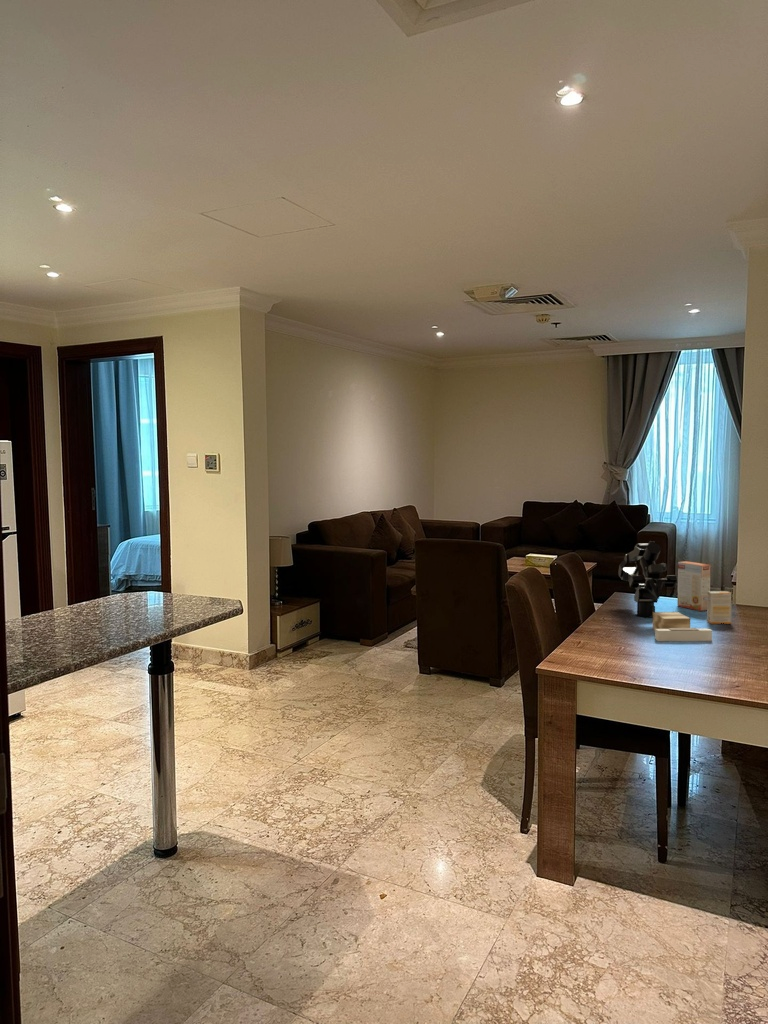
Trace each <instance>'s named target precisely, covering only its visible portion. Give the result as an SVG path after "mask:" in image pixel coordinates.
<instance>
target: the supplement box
mask: <svg viewBox="0 0 768 1024" xmlns="http://www.w3.org/2000/svg"><path fill="white" fill-rule="evenodd" d="M706 613H707V614H706V622H707V621H708V622H707V623H709V624H710V623H711V624H710V625H722V624H723V623H724V624H723V625H726V624H727V625H729V624H730V625H732V592H730V591H729V590H710V591H707V611H706ZM721 623H722V624H721Z"/></svg>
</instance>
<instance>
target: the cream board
mask: <svg viewBox="0 0 768 1024" xmlns="http://www.w3.org/2000/svg"><path fill="white" fill-rule="evenodd" d="M654 634H655V635H654V636H655V637H654V640H655V639H656V640H655V641H657V640H658V641H657V642H712V641H713V630H712V629H710V628H696V627H690V628H668V629H655V630H654Z"/></svg>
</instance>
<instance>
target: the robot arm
mask: <svg viewBox="0 0 768 1024" xmlns="http://www.w3.org/2000/svg"><path fill="white" fill-rule="evenodd" d="M661 551H662V548H661V546H660V545H659V544H658V543H655V541H653V540H652V541H651V540H649V541H648V543H636V544H635V545H634V548H633V550H631V551H630V552H628V553H626V554H625V555H624V558H623V560H622V561H621V562H619V565H618V571H617V572H618V577H619V578H620V579H621V580H622V581H626V582H628V584H629V588H630V589H635V593H634V595H633V601H634V602H635V603H637V604H636V607H637V608H636V614H635V615H634V616H636V617H642V618H649V619H650V618H653V612H656V606H655V603H658V600H659V599H660V594H661V590H662V589H663V587H665V588H666V589H667V588H668V589H669V588H671V589H672V588H675V587H676V585H677V584H678V575H675V574H670V575H668V574H667V575H666V576H665V577H664V578H663V577H662V573H663V572H666V571H667V570H668V567H667V563H666V562H665V563H664V562H662V563H656V561H657V560H658V558H659V555H660V553H661ZM638 561H639V564H638ZM629 563H635V566H627V565H628V564H629ZM639 565H640V566H641V569H642V575H641V574H640V567H639ZM643 576H644V578H643ZM661 577H662V578H661Z"/></svg>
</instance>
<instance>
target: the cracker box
mask: <svg viewBox="0 0 768 1024" xmlns="http://www.w3.org/2000/svg"><path fill="white" fill-rule="evenodd" d="M711 566H712V565H711V564H707V563H701V562H694V561H686V560H685V561H678V562H677V578H678V581H677V602H676V603H677V607H681V608H685V609H690V610H693V611H698V612H705V611H706V610H707V591H711V571H712V570H711V569H712V567H711ZM706 612H707V611H706Z"/></svg>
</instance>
